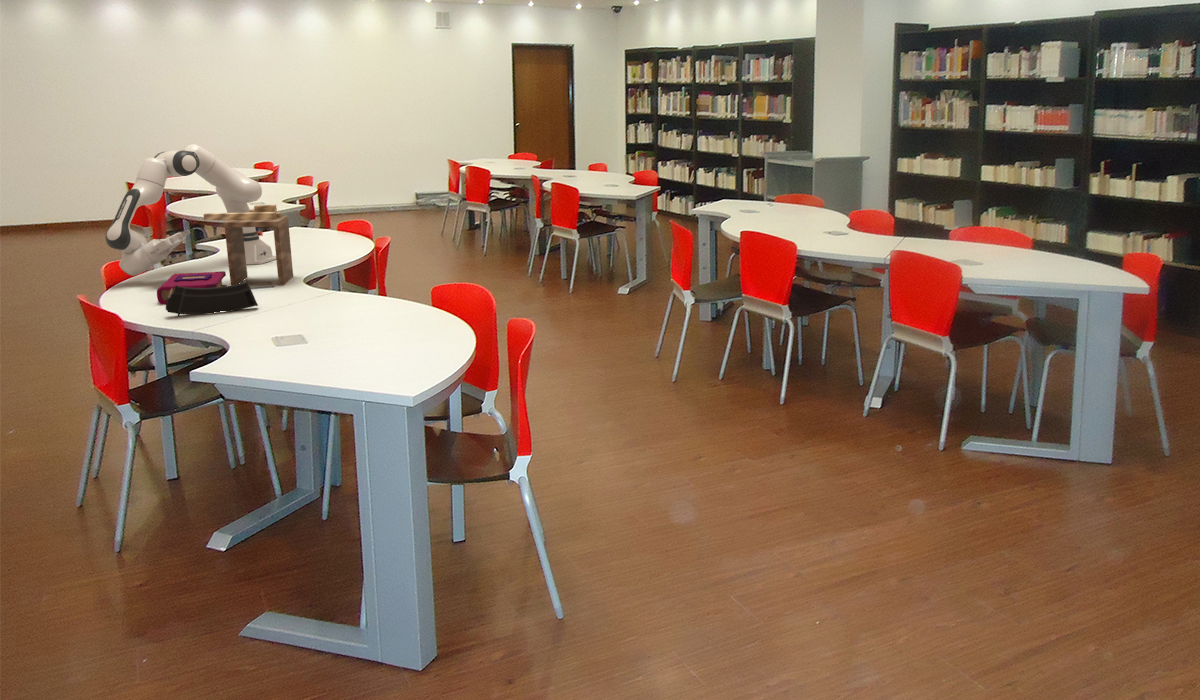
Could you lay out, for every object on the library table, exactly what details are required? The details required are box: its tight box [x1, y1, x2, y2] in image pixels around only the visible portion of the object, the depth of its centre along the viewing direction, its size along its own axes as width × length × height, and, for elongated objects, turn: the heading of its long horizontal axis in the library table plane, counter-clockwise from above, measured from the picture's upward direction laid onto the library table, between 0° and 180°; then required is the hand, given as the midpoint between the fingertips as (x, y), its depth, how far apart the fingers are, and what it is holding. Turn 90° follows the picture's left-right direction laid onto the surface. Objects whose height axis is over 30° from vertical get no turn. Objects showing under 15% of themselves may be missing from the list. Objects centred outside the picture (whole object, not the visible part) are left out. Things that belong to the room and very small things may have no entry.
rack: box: [223, 204, 294, 286], centre depth 399 cm, size 21×19×31 cm
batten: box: [203, 212, 276, 221], centre depth 395 cm, size 28×3×2 cm, turn 96°
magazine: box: [165, 280, 259, 317], centre depth 345 cm, size 17×3×30 cm
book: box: [156, 270, 228, 305], centre depth 375 cm, size 21×28×8 cm
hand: (185, 232), depth 395 cm, fingers open, 8 cm apart
